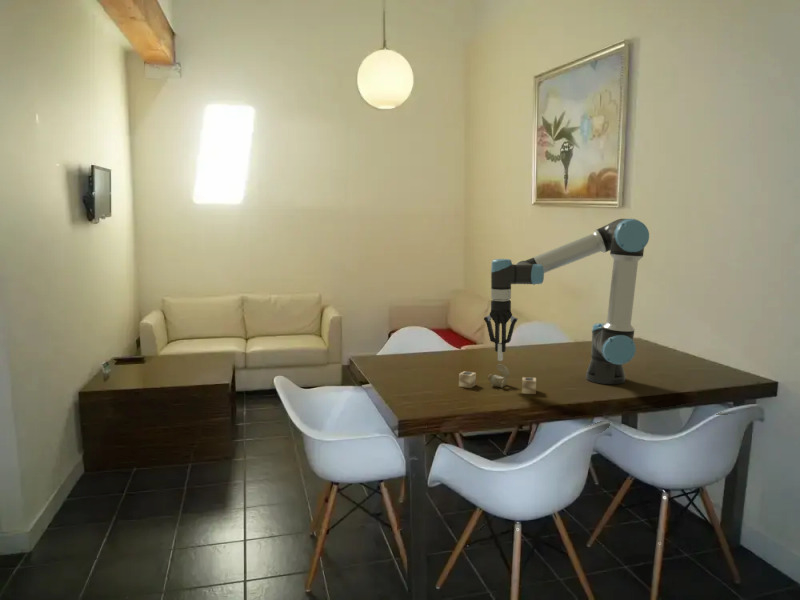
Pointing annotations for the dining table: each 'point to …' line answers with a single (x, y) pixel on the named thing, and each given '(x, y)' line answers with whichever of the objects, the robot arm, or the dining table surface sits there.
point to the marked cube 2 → (528, 385)
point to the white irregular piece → (499, 377)
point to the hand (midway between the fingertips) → (500, 359)
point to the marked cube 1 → (467, 379)
